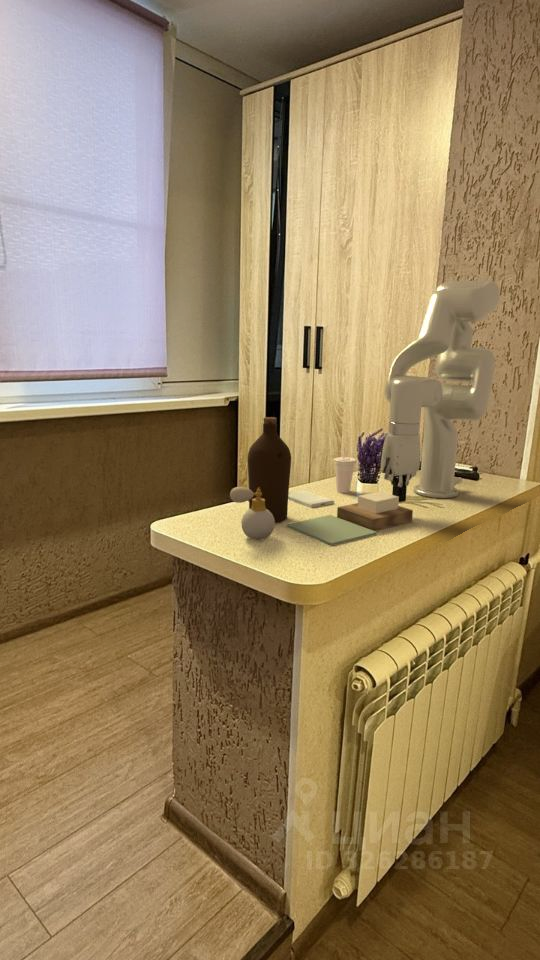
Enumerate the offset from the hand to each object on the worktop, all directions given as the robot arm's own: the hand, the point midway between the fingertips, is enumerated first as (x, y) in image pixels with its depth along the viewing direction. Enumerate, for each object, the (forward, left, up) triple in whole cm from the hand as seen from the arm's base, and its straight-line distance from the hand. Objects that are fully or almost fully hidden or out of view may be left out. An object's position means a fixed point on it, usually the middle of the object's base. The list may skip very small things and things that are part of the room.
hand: (398, 500), depth 153 cm
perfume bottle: (+41, -5, -4) cm, 42 cm away
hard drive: (+10, -23, -5) cm, 26 cm away
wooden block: (+8, 0, -4) cm, 9 cm away
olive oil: (+29, -16, -4) cm, 34 cm away
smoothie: (-5, -25, -4) cm, 26 cm away
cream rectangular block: (+7, 0, -1) cm, 7 cm away
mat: (+23, 0, -4) cm, 23 cm away
